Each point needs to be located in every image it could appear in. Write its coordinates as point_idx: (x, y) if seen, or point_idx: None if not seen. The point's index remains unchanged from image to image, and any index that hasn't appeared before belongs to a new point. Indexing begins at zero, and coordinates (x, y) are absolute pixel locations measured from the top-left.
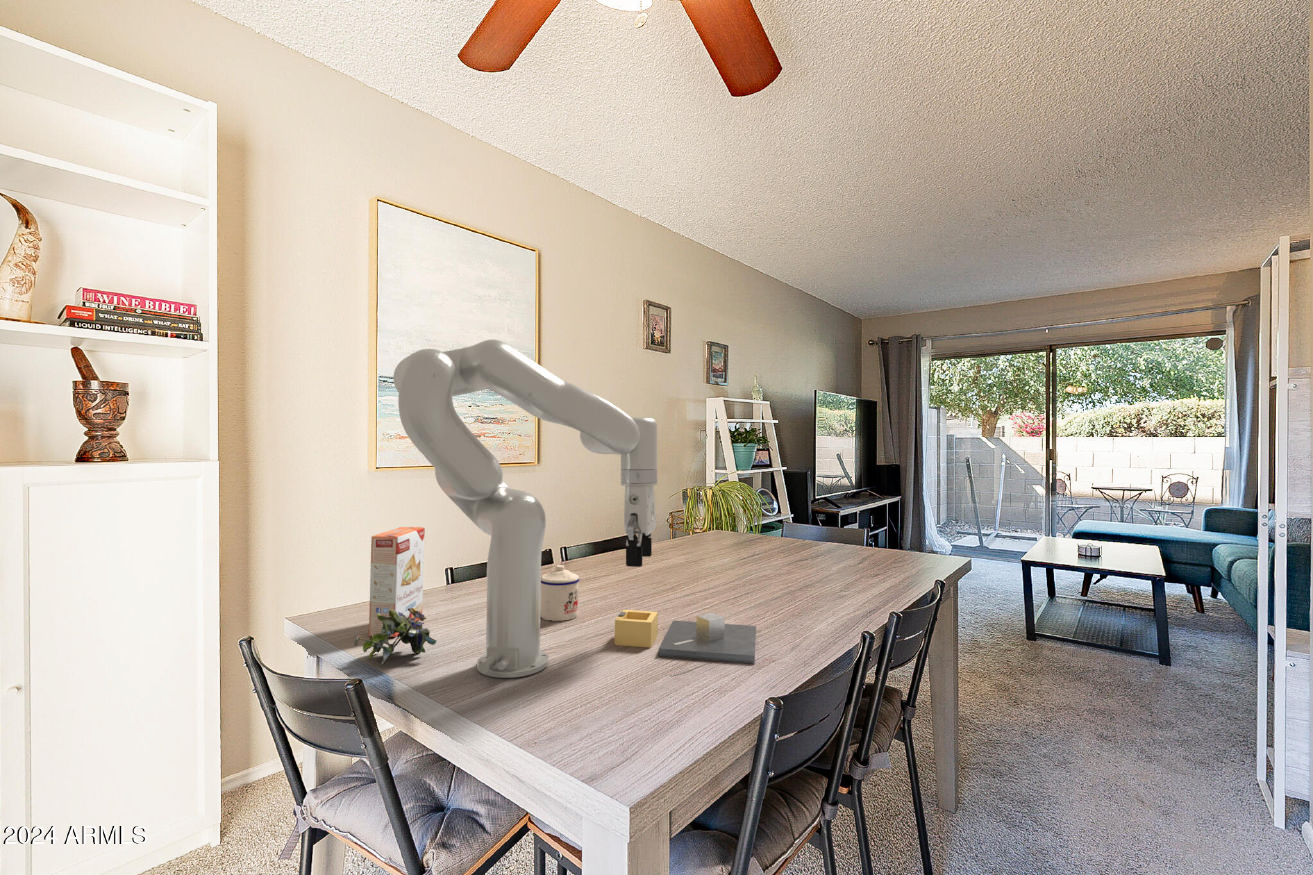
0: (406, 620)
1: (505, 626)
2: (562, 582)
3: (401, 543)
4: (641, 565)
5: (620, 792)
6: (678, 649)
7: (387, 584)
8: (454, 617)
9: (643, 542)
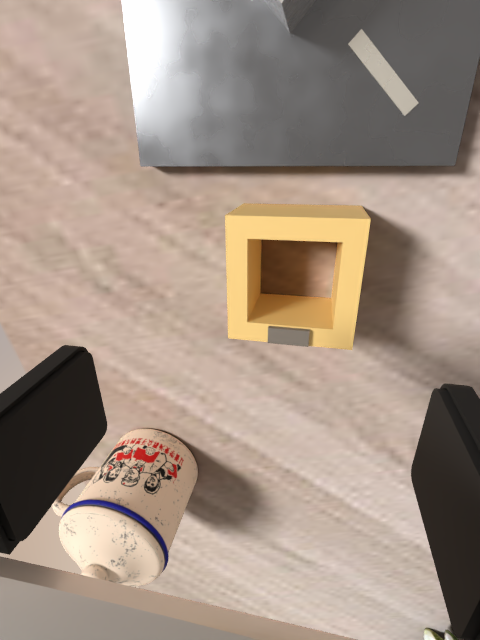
0: None
1: None
2: (154, 539)
3: None
4: (470, 388)
5: None
6: (468, 81)
7: None
8: (223, 605)
9: (29, 469)
